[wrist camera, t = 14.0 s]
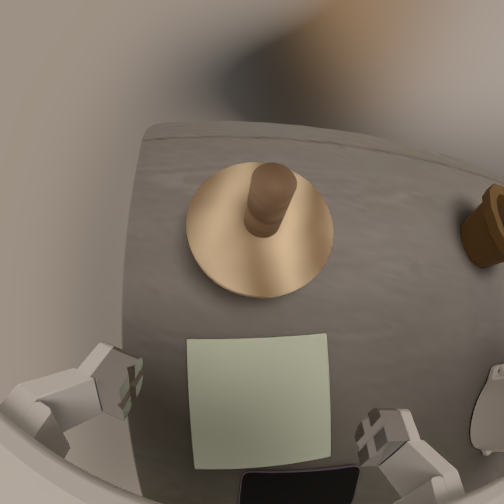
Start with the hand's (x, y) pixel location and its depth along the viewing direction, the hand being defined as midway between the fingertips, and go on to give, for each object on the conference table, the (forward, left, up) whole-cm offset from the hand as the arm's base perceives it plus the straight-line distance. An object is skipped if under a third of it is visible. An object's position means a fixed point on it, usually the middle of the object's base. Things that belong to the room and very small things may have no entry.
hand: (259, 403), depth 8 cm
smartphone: (-7, +18, -23) cm, 30 cm away
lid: (-3, -14, -16) cm, 22 cm away
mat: (-3, +5, -22) cm, 23 cm away
